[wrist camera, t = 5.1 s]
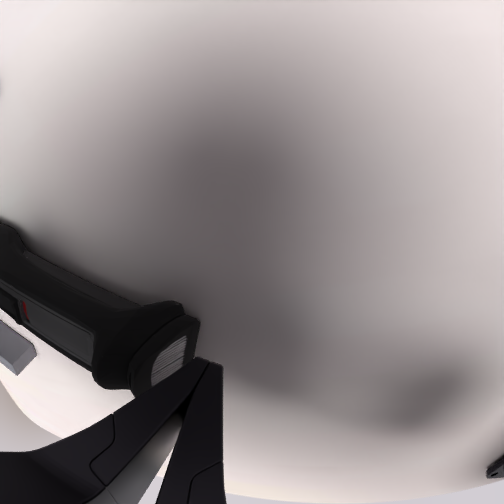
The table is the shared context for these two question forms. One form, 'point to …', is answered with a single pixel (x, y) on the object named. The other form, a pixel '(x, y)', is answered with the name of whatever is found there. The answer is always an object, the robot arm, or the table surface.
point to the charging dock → (14, 350)
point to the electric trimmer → (94, 321)
